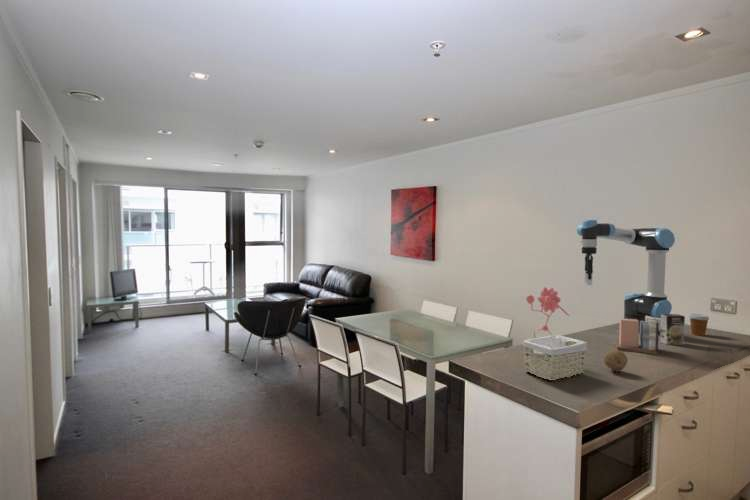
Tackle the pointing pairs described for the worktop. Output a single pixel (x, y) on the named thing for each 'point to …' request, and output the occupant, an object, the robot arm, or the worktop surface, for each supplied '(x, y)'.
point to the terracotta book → (629, 332)
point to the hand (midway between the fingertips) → (588, 283)
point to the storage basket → (554, 356)
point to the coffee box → (672, 329)
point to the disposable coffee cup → (698, 324)
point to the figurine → (546, 303)
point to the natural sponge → (615, 360)
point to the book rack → (645, 338)
